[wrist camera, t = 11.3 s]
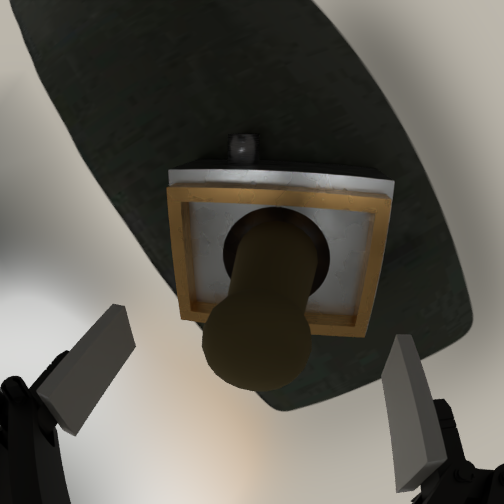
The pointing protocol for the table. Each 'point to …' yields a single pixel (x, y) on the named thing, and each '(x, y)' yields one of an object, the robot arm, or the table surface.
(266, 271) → the cork
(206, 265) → the grey box with hole
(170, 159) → the table surface
